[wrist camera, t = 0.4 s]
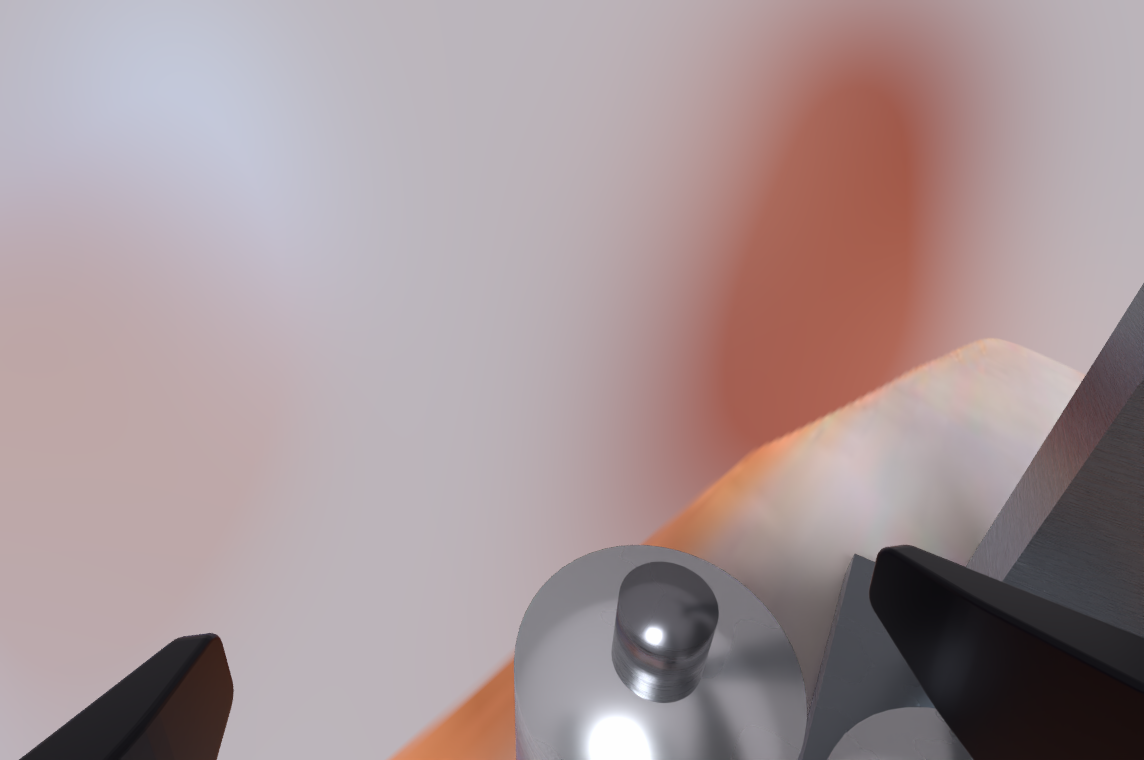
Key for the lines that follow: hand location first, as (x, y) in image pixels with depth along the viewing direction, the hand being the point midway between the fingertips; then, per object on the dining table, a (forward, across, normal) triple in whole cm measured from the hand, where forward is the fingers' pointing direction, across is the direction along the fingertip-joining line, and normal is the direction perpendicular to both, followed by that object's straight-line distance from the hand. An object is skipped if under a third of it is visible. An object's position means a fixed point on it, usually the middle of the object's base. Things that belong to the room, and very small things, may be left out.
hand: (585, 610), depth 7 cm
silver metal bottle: (+4, -2, +15) cm, 16 cm away
